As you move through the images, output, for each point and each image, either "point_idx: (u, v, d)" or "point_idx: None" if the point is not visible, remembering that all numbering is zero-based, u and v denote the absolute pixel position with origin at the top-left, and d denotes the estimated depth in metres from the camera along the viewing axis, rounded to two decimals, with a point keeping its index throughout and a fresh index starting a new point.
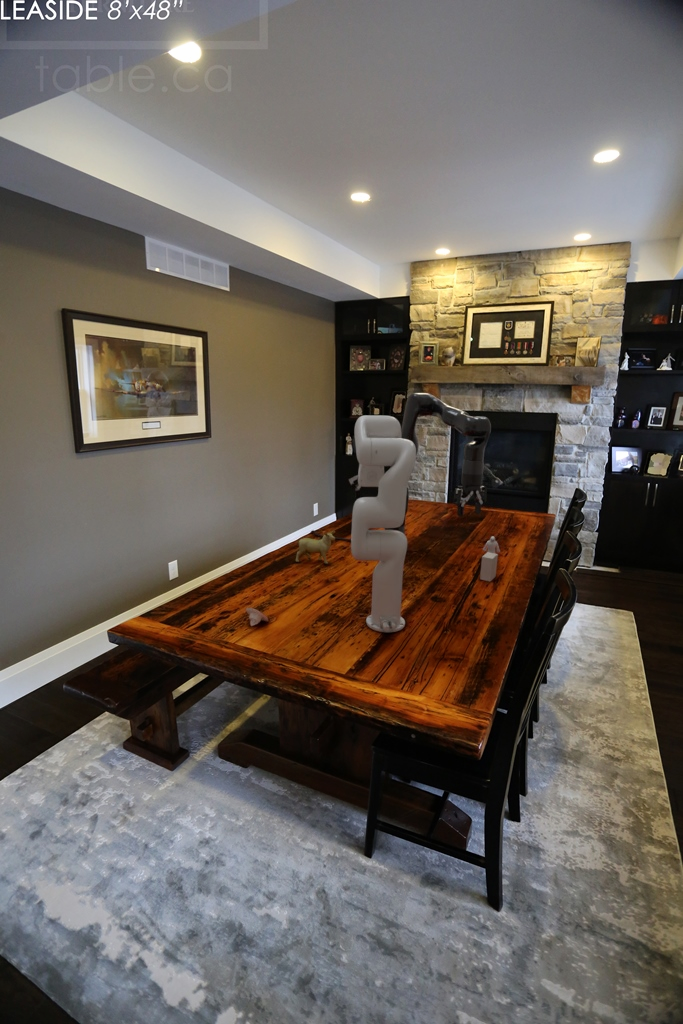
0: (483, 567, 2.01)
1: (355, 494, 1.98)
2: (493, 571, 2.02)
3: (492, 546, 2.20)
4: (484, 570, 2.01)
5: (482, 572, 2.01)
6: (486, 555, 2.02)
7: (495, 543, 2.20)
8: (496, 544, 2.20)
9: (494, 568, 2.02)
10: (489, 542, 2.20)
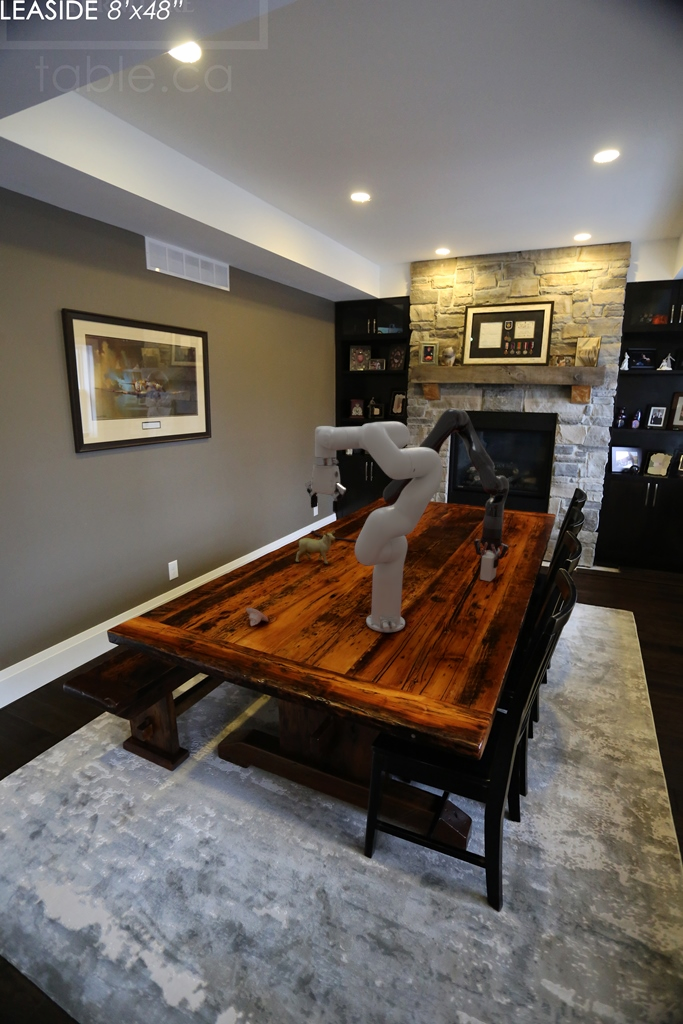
0: (483, 567, 2.01)
1: (337, 506, 1.75)
2: (493, 571, 2.02)
3: None
4: (484, 570, 2.01)
5: (482, 572, 2.01)
6: (486, 555, 2.02)
7: None
8: None
9: (494, 568, 2.02)
10: None
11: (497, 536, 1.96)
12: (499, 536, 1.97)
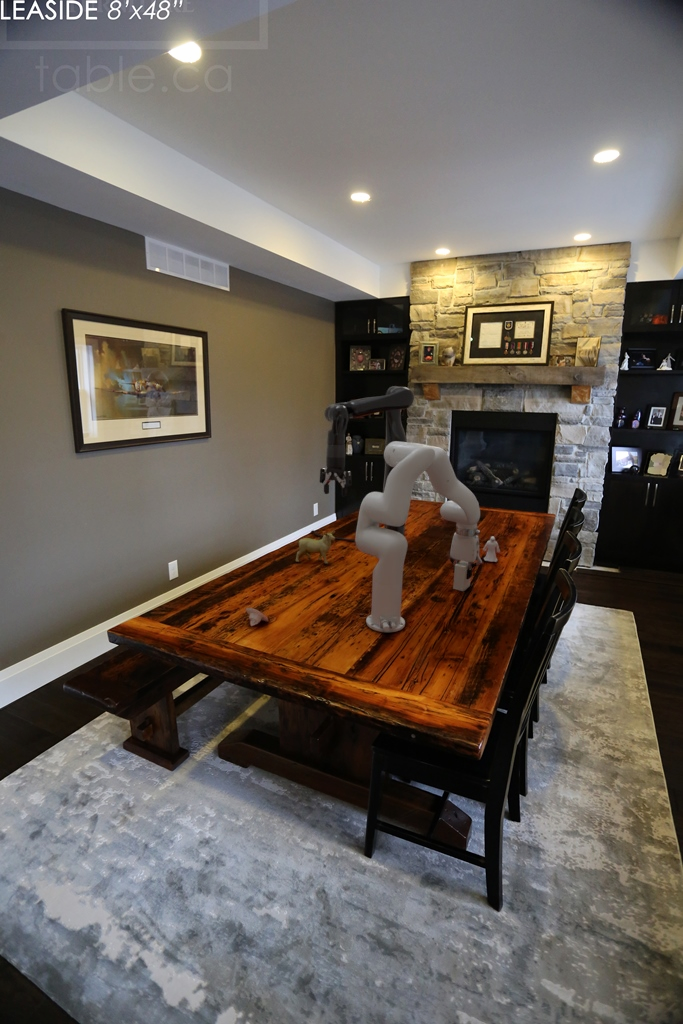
0: (456, 576, 1.91)
1: (470, 574, 1.90)
2: (467, 580, 1.92)
3: (492, 546, 2.20)
4: (457, 579, 1.91)
5: (455, 581, 1.91)
6: (459, 563, 1.91)
7: (495, 543, 2.20)
8: (496, 544, 2.20)
9: None
10: (489, 542, 2.20)
11: (338, 465, 1.98)
12: (340, 465, 1.98)
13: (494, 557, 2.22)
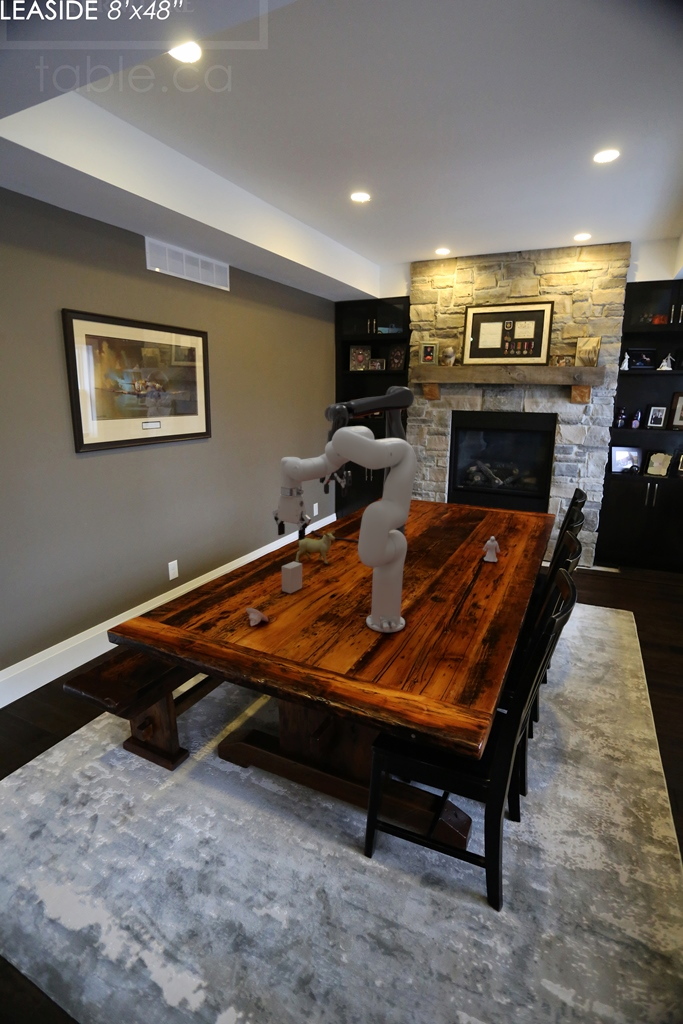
0: (283, 578, 1.86)
1: (302, 534, 1.80)
2: (295, 582, 1.87)
3: (492, 546, 2.20)
4: (284, 581, 1.85)
5: (283, 583, 1.86)
6: (287, 565, 1.86)
7: (495, 543, 2.20)
8: (496, 544, 2.20)
9: (297, 579, 1.87)
10: (489, 542, 2.20)
11: None
12: None
13: (494, 557, 2.22)
